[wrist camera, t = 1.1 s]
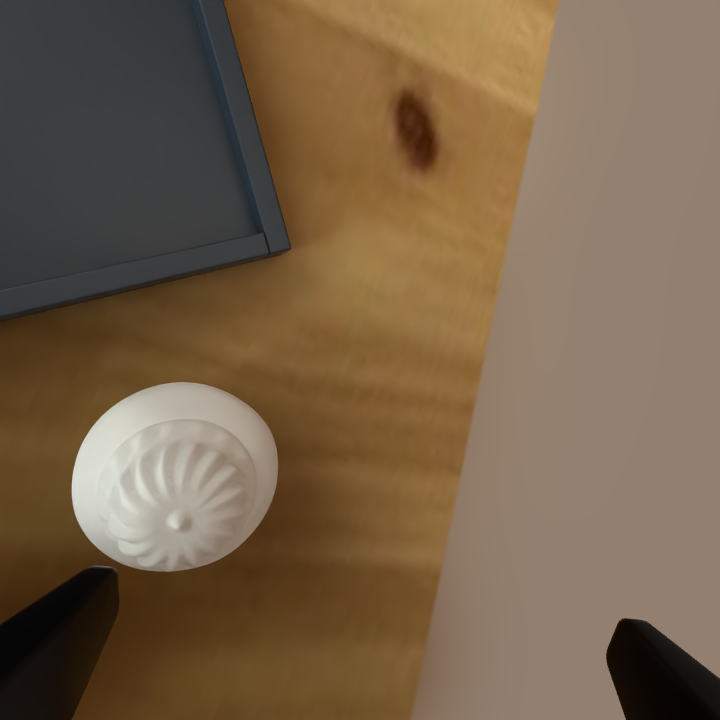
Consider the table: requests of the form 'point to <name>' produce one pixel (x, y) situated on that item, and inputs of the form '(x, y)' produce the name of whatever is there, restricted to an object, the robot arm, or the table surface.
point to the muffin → (174, 477)
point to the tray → (125, 151)
